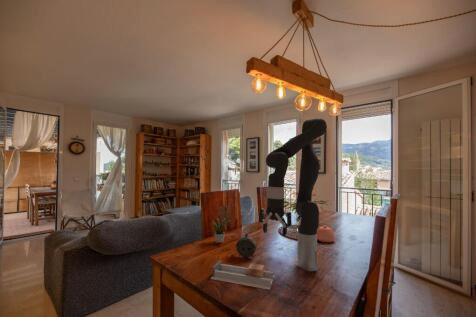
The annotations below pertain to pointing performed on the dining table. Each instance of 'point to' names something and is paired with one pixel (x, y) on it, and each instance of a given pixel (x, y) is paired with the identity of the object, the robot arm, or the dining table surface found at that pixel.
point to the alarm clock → (246, 246)
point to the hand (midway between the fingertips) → (274, 234)
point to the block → (256, 270)
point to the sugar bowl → (325, 234)
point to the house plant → (219, 231)
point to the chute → (240, 276)
